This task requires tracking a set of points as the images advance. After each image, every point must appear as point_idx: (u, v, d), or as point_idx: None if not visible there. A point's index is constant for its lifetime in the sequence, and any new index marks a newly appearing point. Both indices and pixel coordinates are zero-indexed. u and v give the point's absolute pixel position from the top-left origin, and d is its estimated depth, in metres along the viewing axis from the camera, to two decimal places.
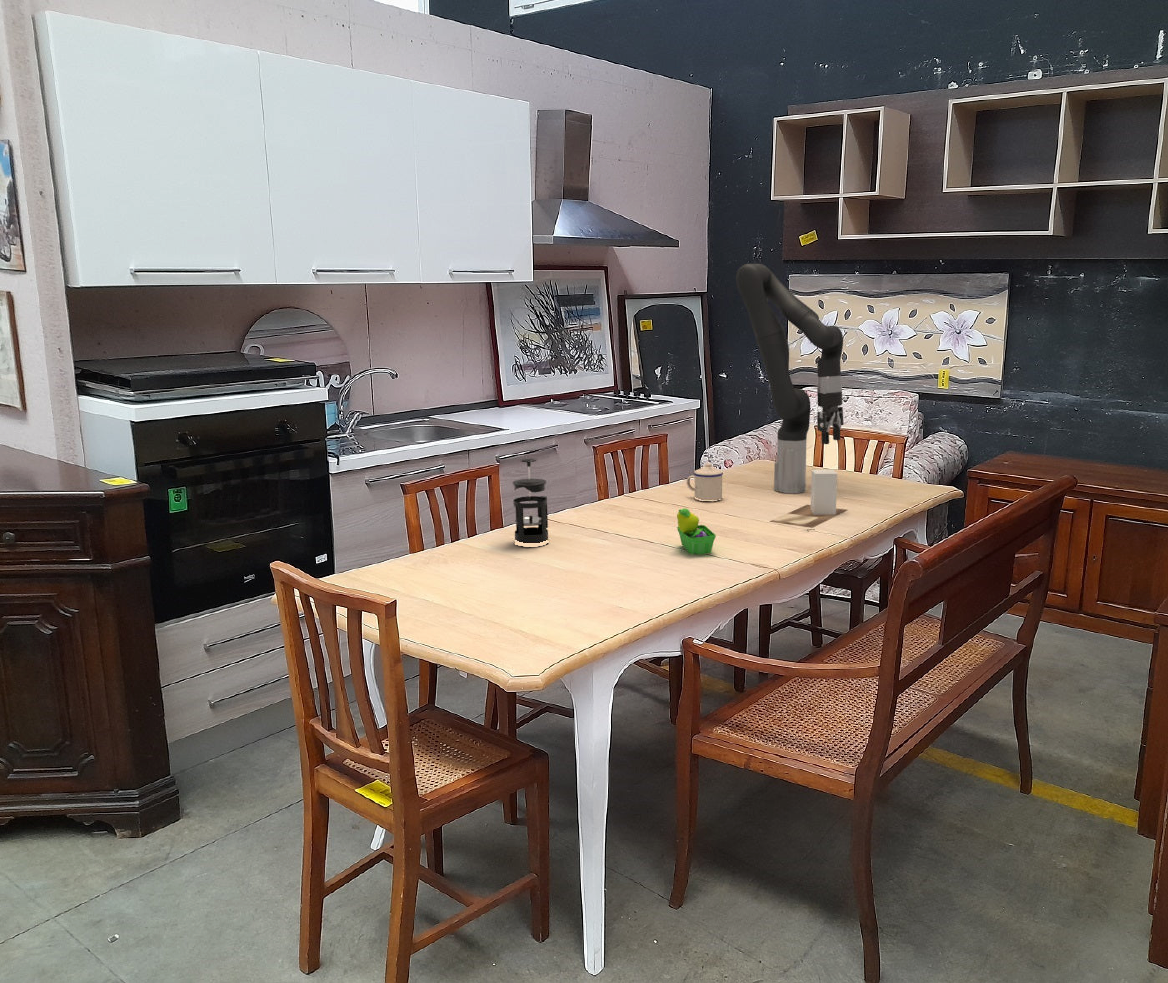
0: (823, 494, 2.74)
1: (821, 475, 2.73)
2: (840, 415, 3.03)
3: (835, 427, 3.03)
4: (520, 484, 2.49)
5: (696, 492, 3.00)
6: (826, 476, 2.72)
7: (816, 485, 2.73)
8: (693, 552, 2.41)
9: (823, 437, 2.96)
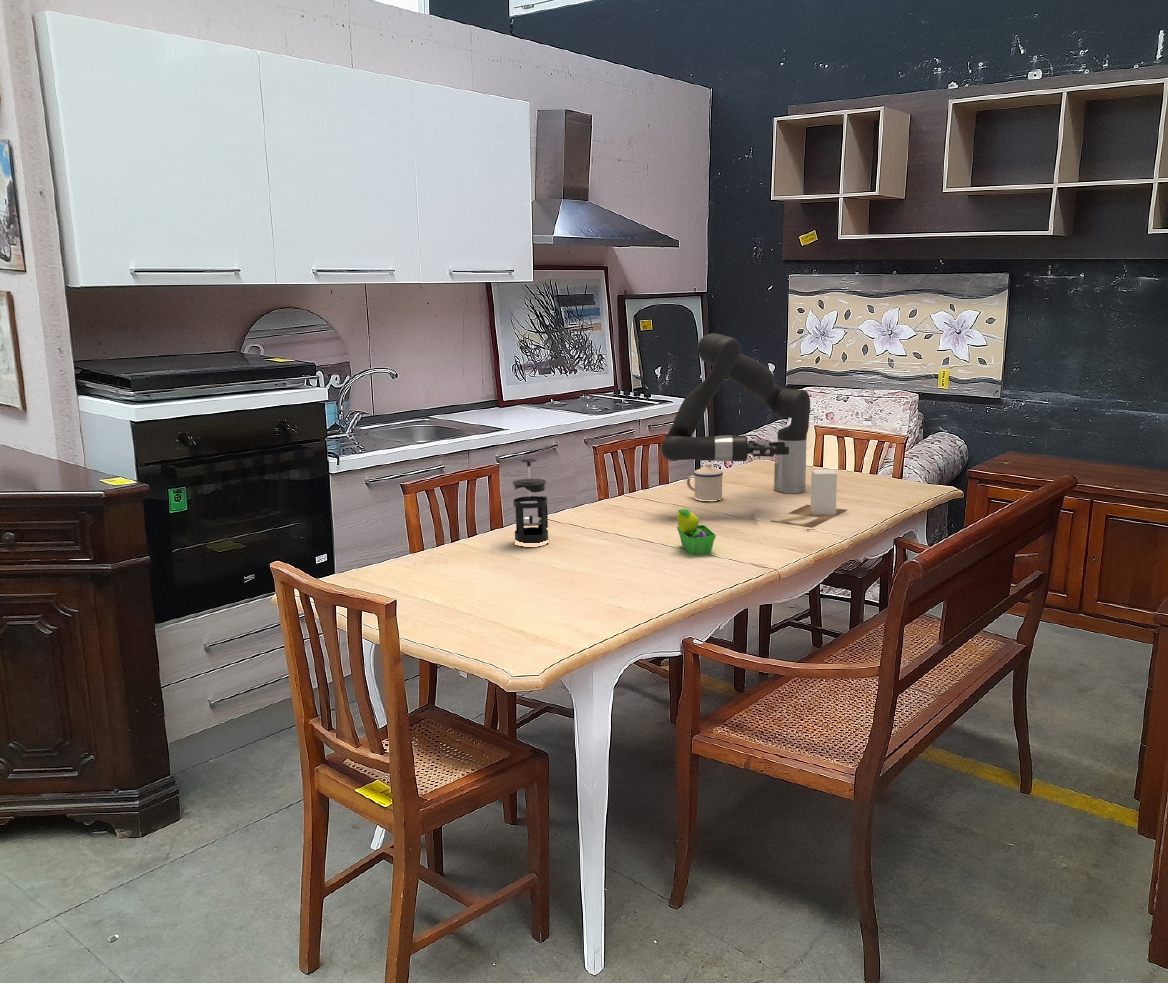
0: (823, 494, 2.74)
1: (821, 475, 2.73)
2: None
3: None
4: (520, 484, 2.49)
5: (696, 492, 3.00)
6: (826, 476, 2.72)
7: (816, 485, 2.73)
8: (693, 552, 2.41)
9: None
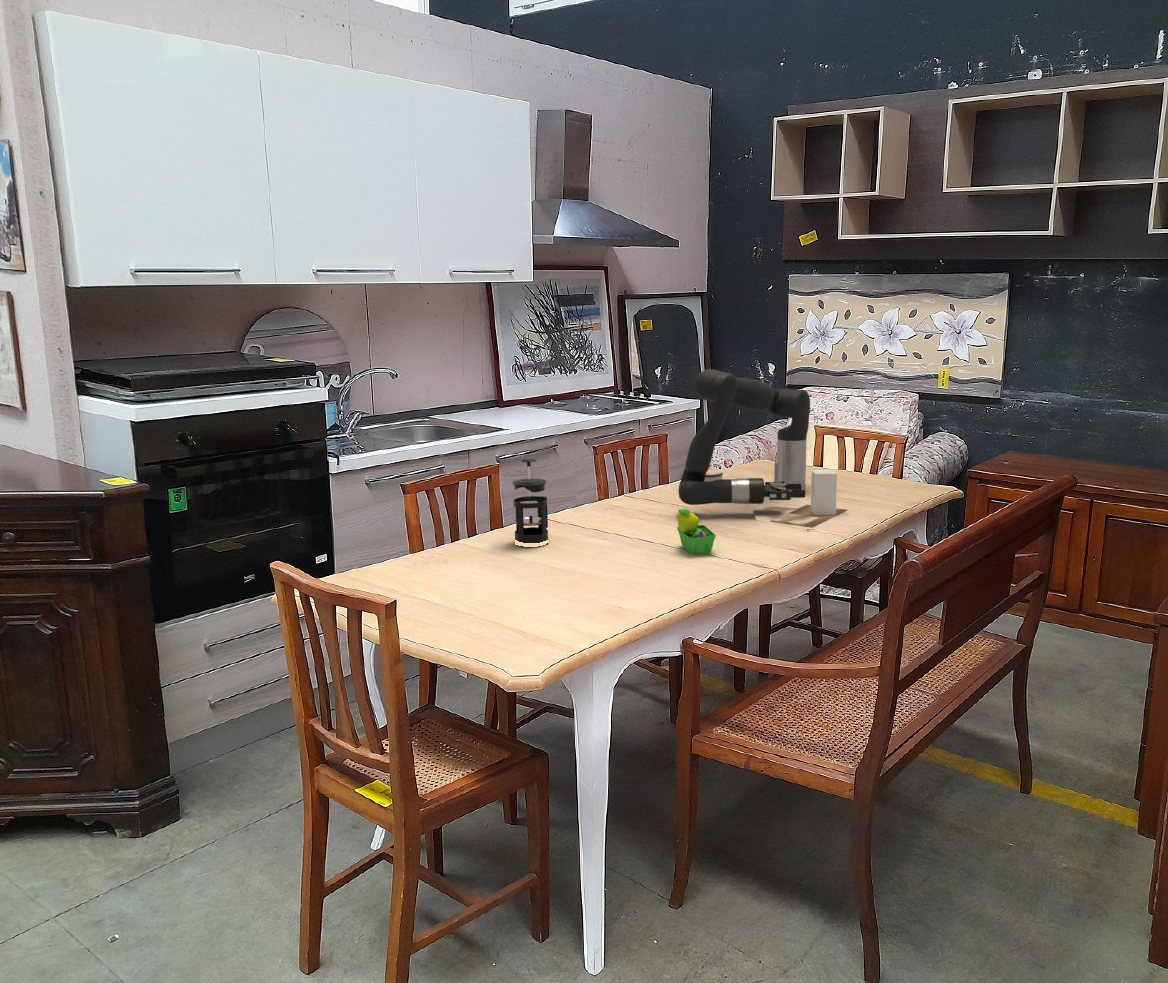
0: (823, 494, 2.74)
1: (821, 475, 2.73)
2: None
3: None
4: (520, 484, 2.49)
5: None
6: (826, 476, 2.72)
7: (816, 485, 2.73)
8: (693, 552, 2.41)
9: None
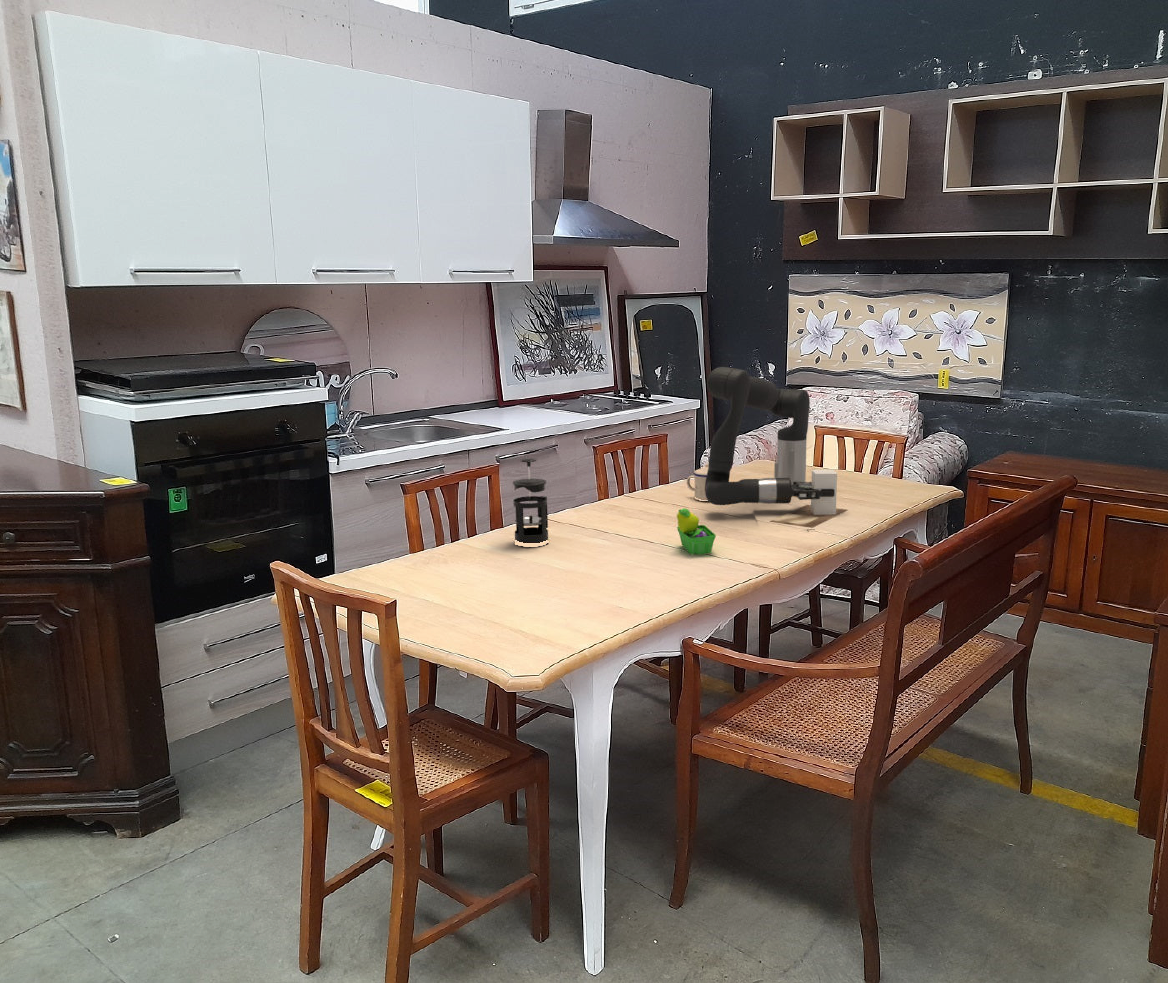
0: None
1: (821, 475, 2.73)
2: None
3: None
4: (520, 484, 2.49)
5: (696, 492, 3.00)
6: (826, 476, 2.72)
7: (816, 485, 2.73)
8: (693, 552, 2.41)
9: None
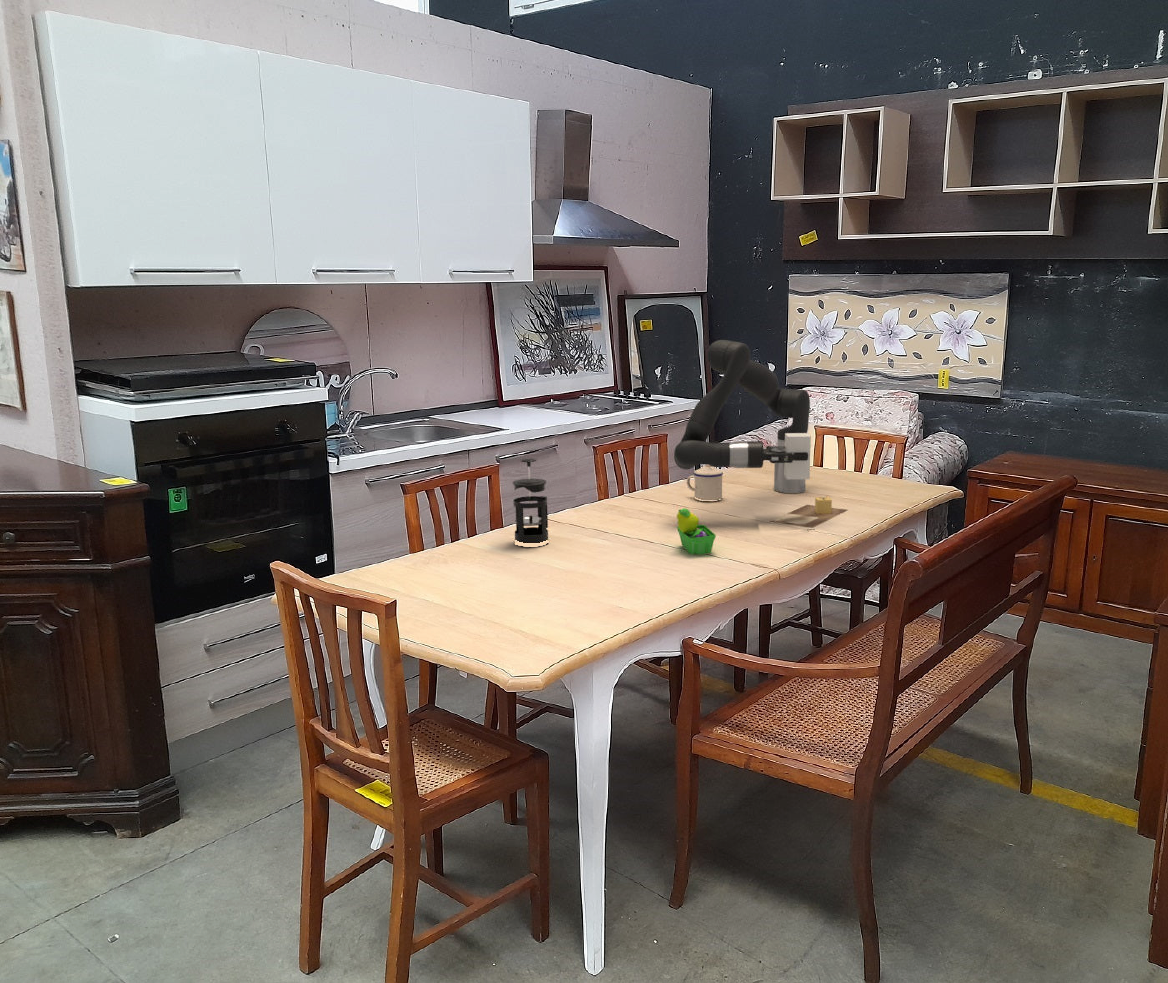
0: None
1: (794, 438, 2.62)
2: None
3: None
4: (520, 484, 2.49)
5: (696, 492, 3.00)
6: (799, 439, 2.62)
7: (789, 448, 2.63)
8: (693, 552, 2.41)
9: None
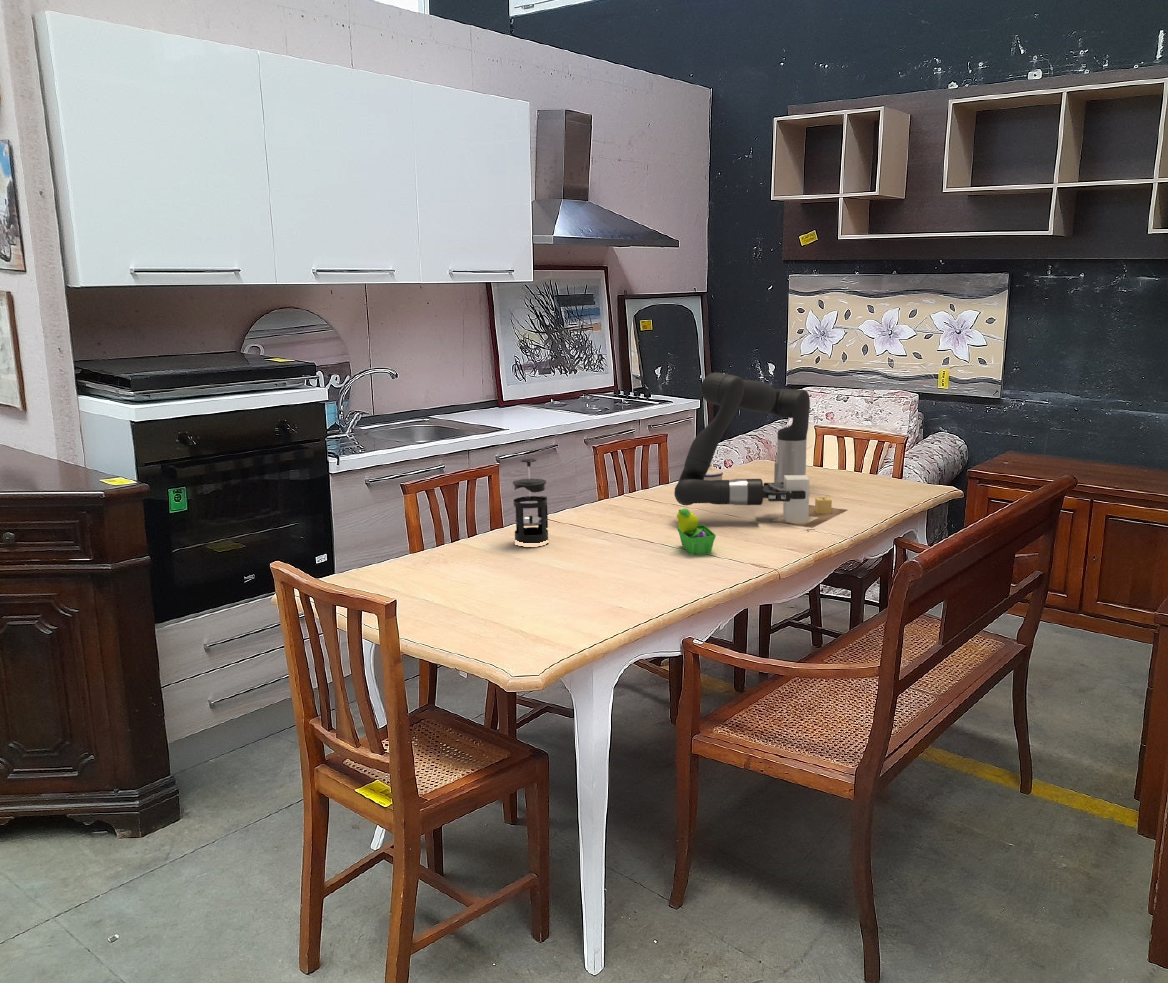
0: (795, 501, 2.66)
1: (793, 481, 2.65)
2: None
3: None
4: (520, 484, 2.49)
5: None
6: (798, 482, 2.65)
7: None
8: (693, 552, 2.41)
9: None
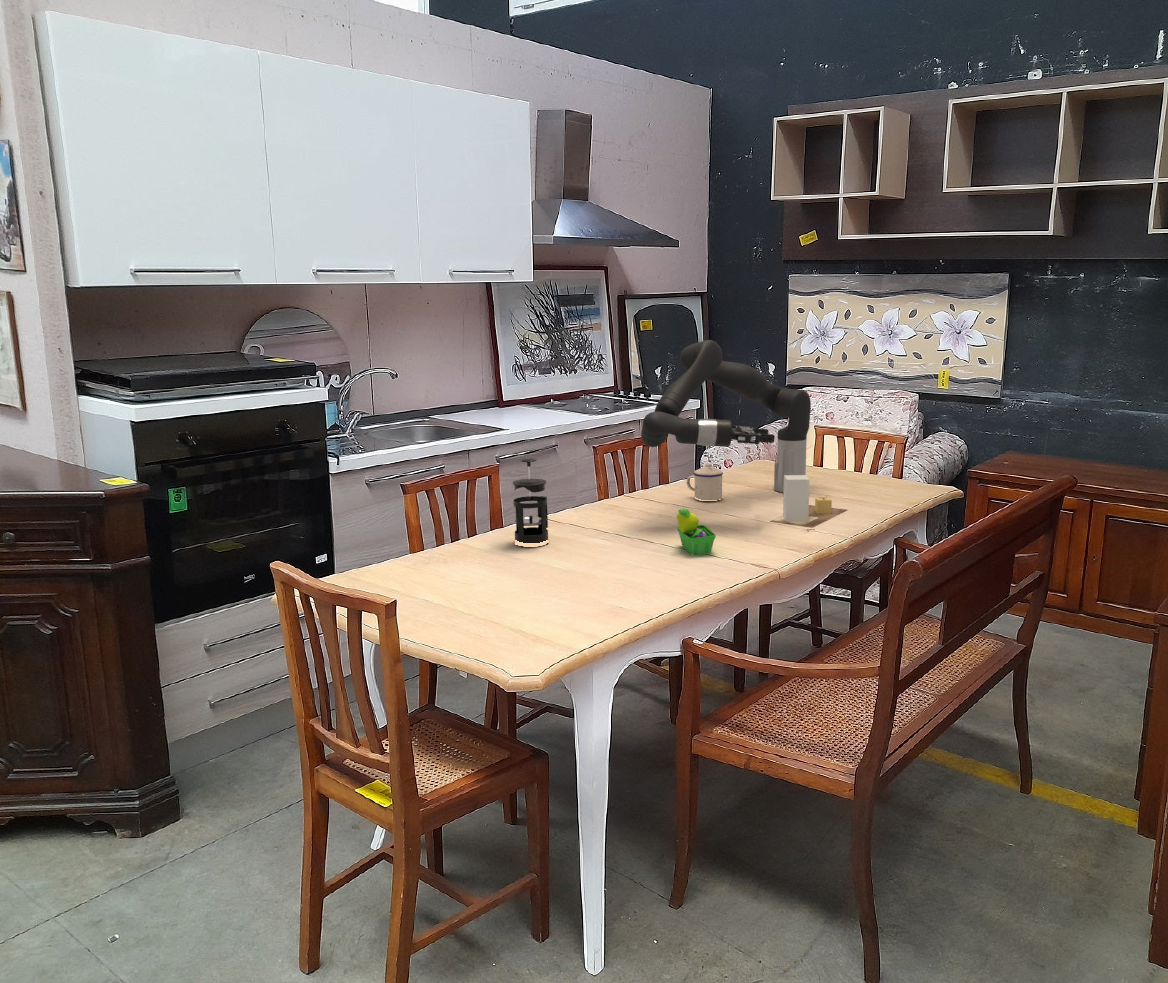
0: (795, 501, 2.66)
1: (793, 481, 2.65)
2: None
3: None
4: (520, 484, 2.49)
5: (696, 492, 3.00)
6: (798, 482, 2.65)
7: (788, 491, 2.66)
8: (693, 552, 2.41)
9: None
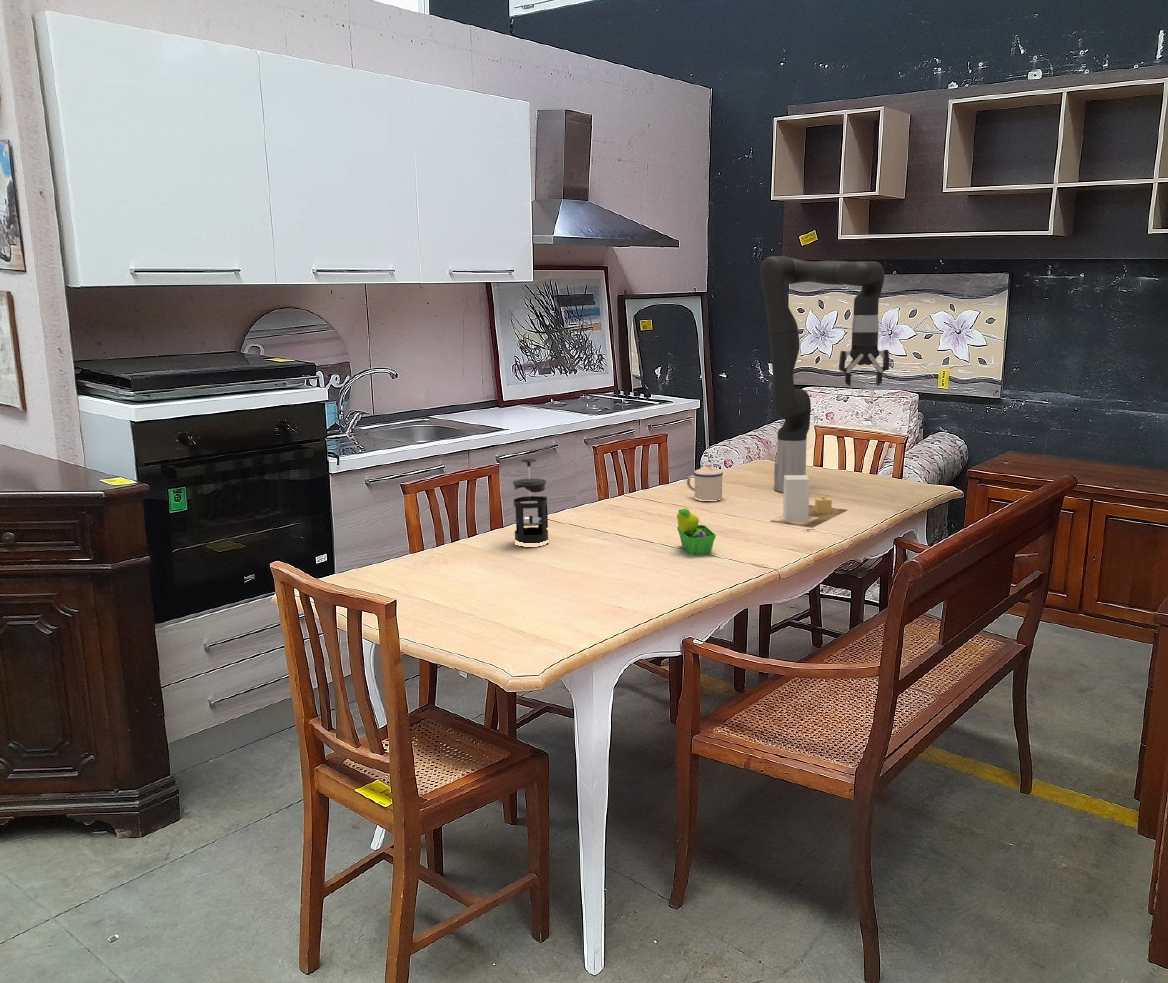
0: (795, 501, 2.66)
1: (793, 481, 2.65)
2: (884, 359, 2.82)
3: (877, 371, 2.84)
4: (520, 484, 2.49)
5: (696, 492, 3.00)
6: (798, 482, 2.65)
7: (788, 491, 2.66)
8: (693, 552, 2.41)
9: (845, 378, 2.85)
